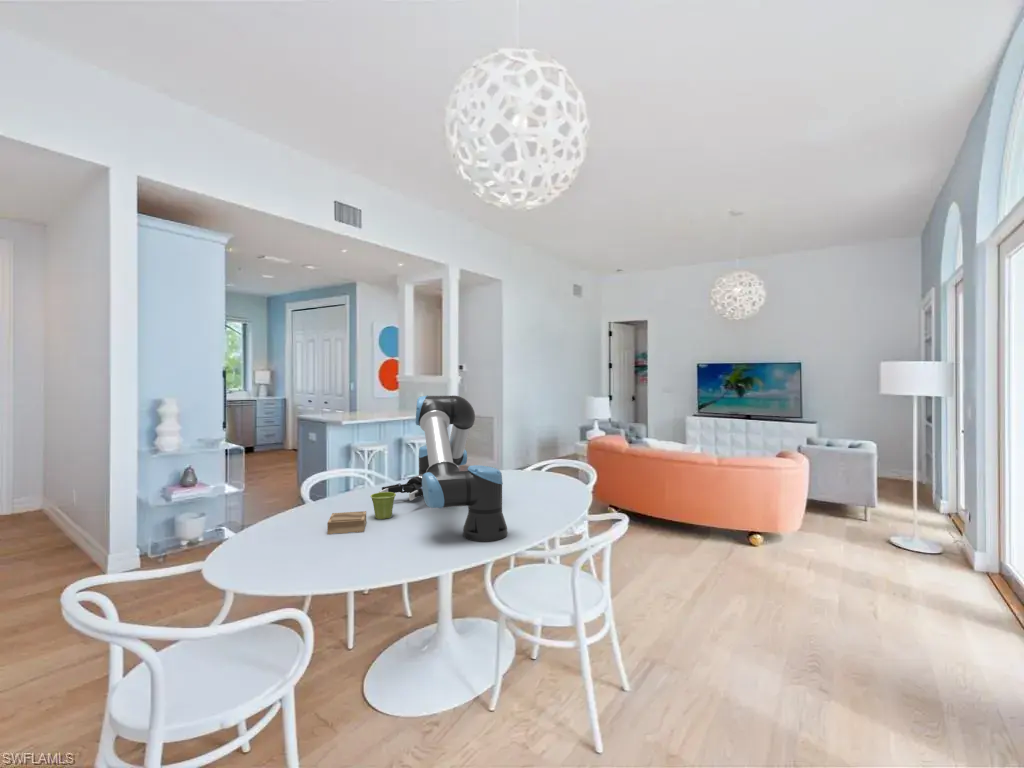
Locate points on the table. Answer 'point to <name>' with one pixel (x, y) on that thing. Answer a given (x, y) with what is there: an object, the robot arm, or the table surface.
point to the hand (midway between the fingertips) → (394, 496)
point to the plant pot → (383, 504)
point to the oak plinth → (347, 522)
